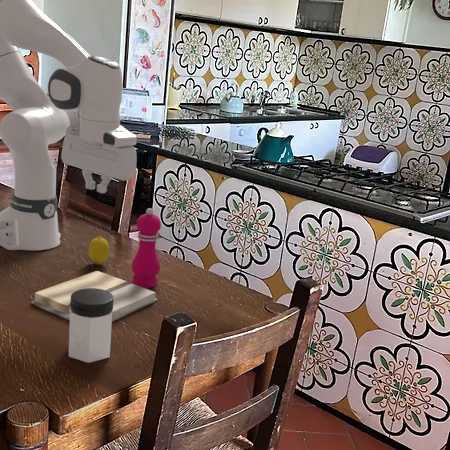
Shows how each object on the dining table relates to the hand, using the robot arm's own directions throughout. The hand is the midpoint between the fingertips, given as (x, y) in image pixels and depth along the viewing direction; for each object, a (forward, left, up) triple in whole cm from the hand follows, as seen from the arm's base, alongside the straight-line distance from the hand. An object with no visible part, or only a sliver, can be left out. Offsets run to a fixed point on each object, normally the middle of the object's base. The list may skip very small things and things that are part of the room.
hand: (95, 190), depth 144 cm
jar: (+21, -22, -25) cm, 40 cm away
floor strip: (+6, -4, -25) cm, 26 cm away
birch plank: (+1, -4, -25) cm, 25 cm away
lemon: (-11, +14, -25) cm, 31 cm away
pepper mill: (+6, +13, -25) cm, 29 cm away
